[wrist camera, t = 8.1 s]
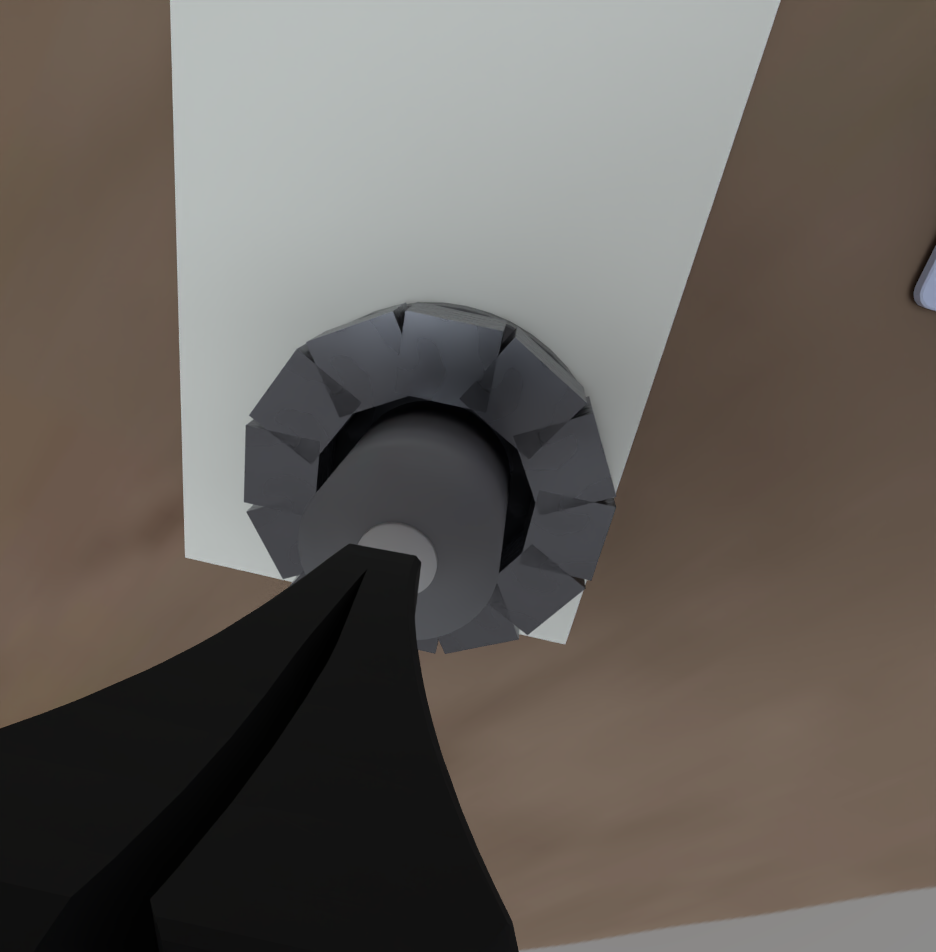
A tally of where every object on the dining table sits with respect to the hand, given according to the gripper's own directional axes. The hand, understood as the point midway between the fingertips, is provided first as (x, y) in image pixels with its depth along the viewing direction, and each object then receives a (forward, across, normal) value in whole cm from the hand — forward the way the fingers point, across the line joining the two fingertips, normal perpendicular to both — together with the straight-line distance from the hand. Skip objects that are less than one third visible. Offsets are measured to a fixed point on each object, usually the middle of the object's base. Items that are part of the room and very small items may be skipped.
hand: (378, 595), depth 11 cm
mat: (+10, +2, -4) cm, 11 cm away
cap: (+8, 0, +2) cm, 9 cm away
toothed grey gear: (+9, 0, +2) cm, 10 cm away
